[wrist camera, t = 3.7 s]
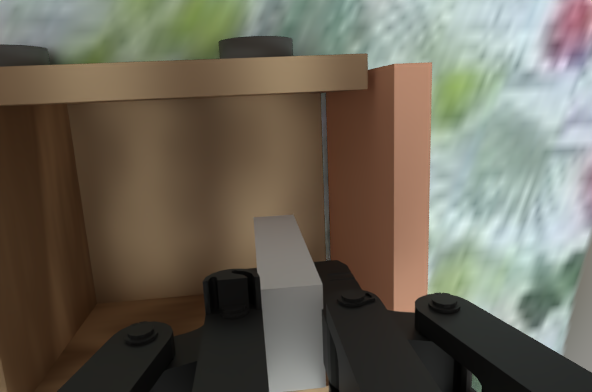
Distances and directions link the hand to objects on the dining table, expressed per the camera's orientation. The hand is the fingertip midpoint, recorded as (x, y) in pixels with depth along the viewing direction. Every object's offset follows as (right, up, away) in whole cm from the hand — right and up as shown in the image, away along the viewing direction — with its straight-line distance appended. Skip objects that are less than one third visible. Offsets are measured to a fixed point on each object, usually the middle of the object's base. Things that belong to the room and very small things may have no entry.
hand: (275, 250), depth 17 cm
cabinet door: (+3, +2, +10) cm, 11 cm away
